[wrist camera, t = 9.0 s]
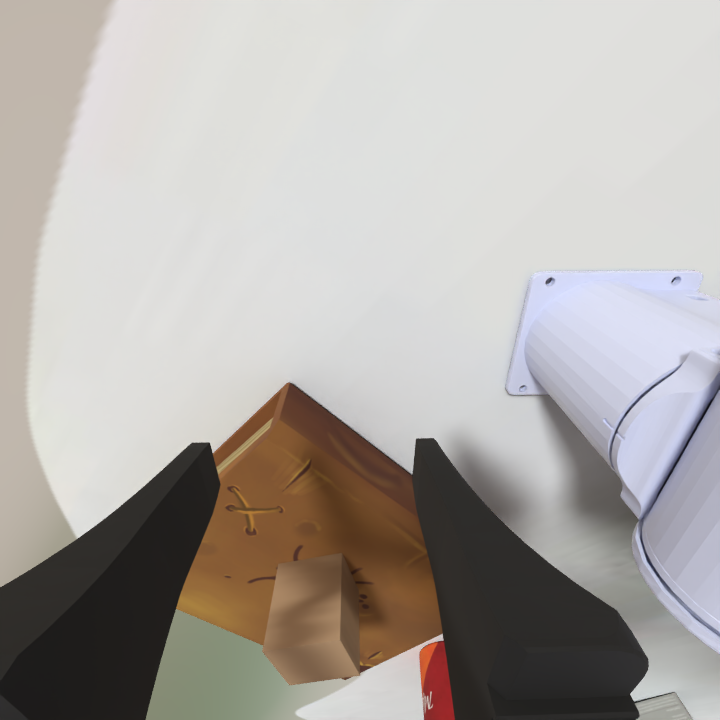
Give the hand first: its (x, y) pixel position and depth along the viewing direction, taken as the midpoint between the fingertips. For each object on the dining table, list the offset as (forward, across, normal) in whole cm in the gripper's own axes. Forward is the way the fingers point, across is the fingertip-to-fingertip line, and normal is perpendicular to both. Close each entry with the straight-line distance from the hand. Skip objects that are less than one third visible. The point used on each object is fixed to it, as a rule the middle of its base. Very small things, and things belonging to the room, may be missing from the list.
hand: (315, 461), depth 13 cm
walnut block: (+6, +1, +16) cm, 17 cm away
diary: (+11, +1, +18) cm, 21 cm away
